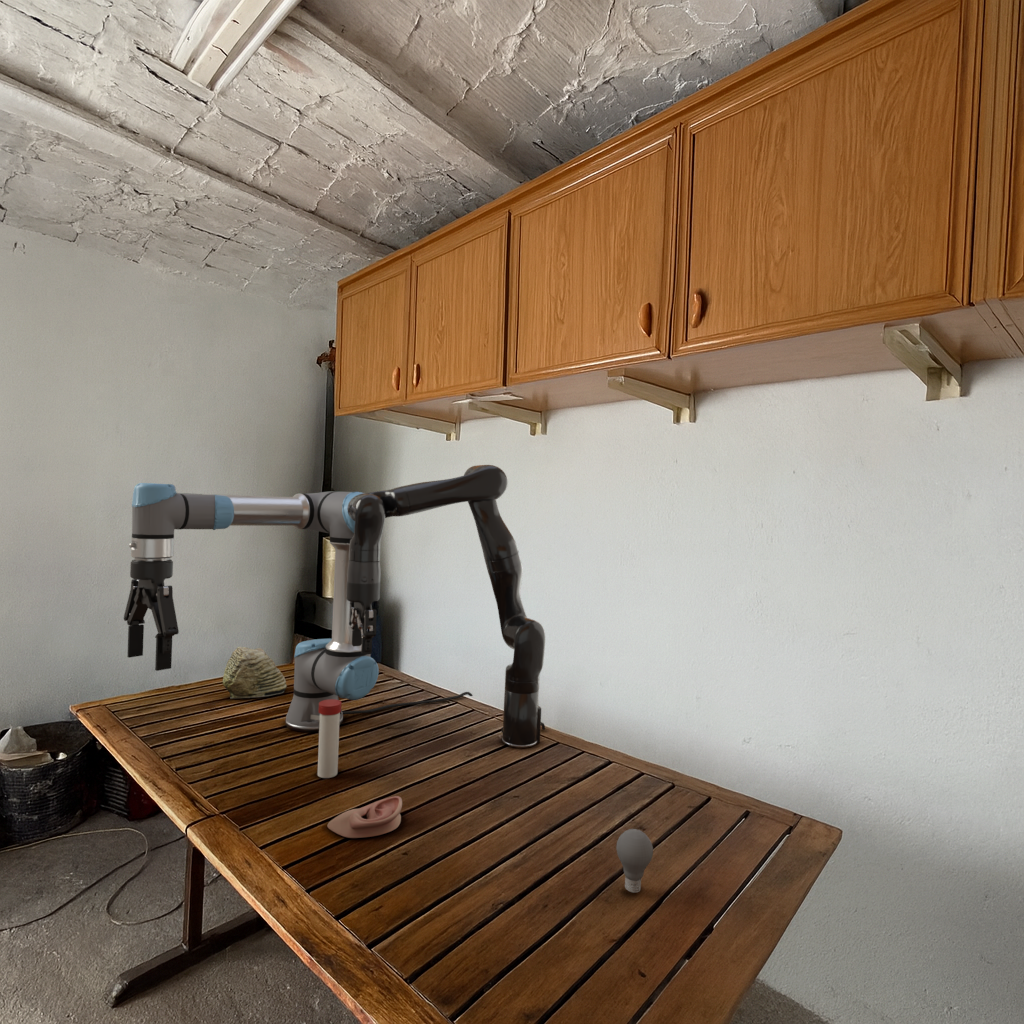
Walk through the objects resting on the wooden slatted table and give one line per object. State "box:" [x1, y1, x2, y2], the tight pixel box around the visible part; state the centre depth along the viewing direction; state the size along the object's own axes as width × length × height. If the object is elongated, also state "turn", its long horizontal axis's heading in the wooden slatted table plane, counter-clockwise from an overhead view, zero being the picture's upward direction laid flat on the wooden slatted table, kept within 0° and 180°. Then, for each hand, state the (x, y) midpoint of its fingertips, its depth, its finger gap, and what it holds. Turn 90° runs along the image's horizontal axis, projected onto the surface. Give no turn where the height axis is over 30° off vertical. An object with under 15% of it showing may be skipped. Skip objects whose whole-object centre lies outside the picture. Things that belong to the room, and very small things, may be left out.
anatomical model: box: [327, 795, 403, 839], centre depth 123 cm, size 13×4×12 cm
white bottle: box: [317, 713, 340, 779], centre depth 145 cm, size 4×4×16 cm
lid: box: [319, 699, 343, 715], centre depth 145 cm, size 5×5×2 cm
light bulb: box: [615, 828, 654, 894], centre depth 106 cm, size 6×6×10 cm
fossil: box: [222, 646, 288, 699], centre depth 198 cm, size 9×18×15 cm, turn 132°
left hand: (148, 662), depth 129 cm, fingers open, 13 cm apart
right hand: (361, 649), depth 147 cm, fingers open, 8 cm apart
